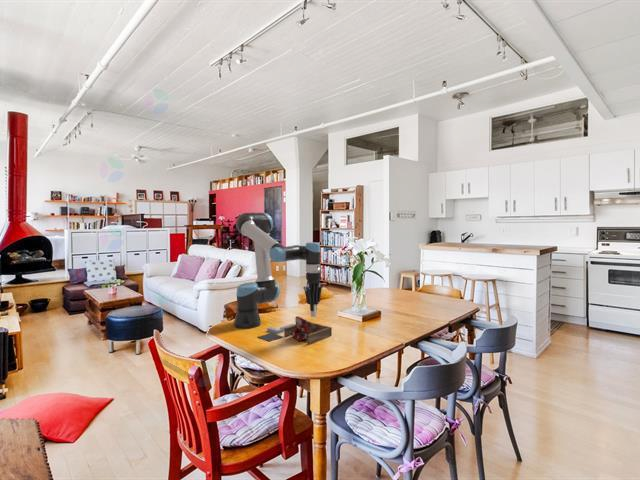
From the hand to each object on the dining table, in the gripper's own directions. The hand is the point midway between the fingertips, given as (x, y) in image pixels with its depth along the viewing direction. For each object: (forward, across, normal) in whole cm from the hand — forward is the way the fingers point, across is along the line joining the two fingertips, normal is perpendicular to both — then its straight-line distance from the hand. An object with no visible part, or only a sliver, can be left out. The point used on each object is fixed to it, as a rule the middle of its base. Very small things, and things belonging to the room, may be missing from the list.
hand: (313, 316), depth 188 cm
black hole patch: (+9, -18, +14) cm, 25 cm away
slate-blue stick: (+10, -11, +19) cm, 24 cm away
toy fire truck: (+10, -8, +1) cm, 13 cm away
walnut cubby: (+10, -4, +1) cm, 11 cm away
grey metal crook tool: (+9, -3, +14) cm, 18 cm away
